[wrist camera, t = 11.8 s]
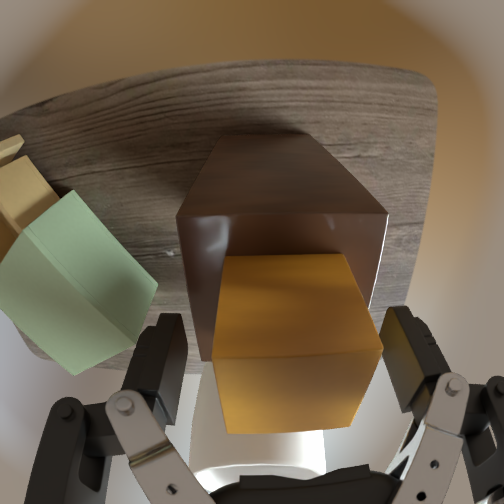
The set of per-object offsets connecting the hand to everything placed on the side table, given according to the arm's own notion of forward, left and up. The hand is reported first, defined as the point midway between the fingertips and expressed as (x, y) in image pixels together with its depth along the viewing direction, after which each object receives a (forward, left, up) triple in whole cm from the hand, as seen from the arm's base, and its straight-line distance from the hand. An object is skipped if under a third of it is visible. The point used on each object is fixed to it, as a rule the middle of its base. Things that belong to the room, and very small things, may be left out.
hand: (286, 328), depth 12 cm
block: (0, 0, -2) cm, 2 cm away
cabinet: (-14, -19, -20) cm, 31 cm away
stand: (0, 0, -20) cm, 20 cm away
